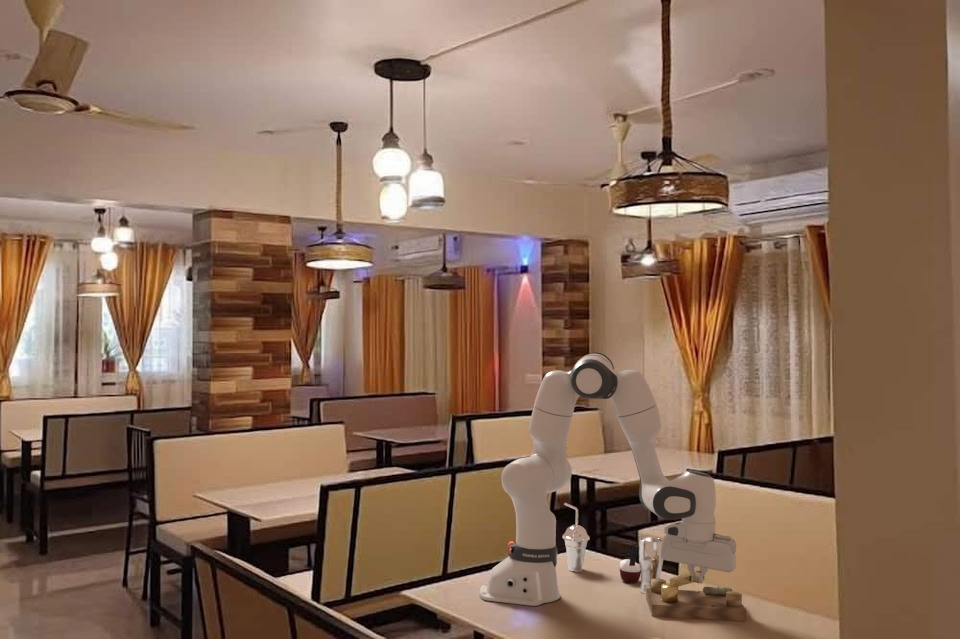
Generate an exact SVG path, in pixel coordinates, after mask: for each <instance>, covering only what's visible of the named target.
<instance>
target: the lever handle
mask: <svg viewBox="0 0 960 639" xmlns="http://www.w3.org/2000/svg"><path fill="white" fill-rule="evenodd" d="M701 572H702V571H700V570H696V571H695V573H696V575H700V574H701ZM704 580H705V575H704V576H703V581H704ZM692 583H694V582H692V581H691V574H690V572H689V573H686V574H682V575H679V576H675V577H671V578H669V583H667V582H666V584H662V585H661V600H663V601H666V602H677V601H678V590H679V587H682V586H685V585H689V584H692Z"/></svg>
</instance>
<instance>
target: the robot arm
mask: <svg viewBox="0 0 960 639" xmlns="http://www.w3.org/2000/svg"><path fill="white" fill-rule="evenodd" d="M579 397H581V398H584V399H589V400H610V401H611V403H612V406H613V409H614V411H615V414H616V417H617V420H618V423H619V425H620V427H621V429H622V432H623V434H624V436H625V438H626V440H627V441H628V445H629V446H630V448H631V452H632V454H633V458H634V462H635V465H636V469H637V472H638V476H639V490H638V497H639V501H640V503H641V505H642V506H643V507H644V508H645V509H646V510H648V511H649V512H651V513H653V514H654V515H656V516H657V517H659V518H661V519H663V520H666V521H676V520H680V519H681V522H680V521H679V522H675V523H671V524H669V525H667V526H665V527H664V530H663V533H664V534H665V535H664V536H663V537H662V538H661V539H662V544H661V557H662V559H663V561H667V562H673V563H679V564H683V565H687V570H688V572H689V573H690V574H691V581H692V582H693V583H697V584H700V585H701V584H703V583H704V580H703V576H704V577H705V575H706V574H707V572H708V570H714V571H719V572H724V573H725V572H726V573H731V572H733V571H734V570H736V568H737V557H736V551H737V542H736V541H735V539H733V538H732V536H730V535H723V534H719V533H718V534H717V533H716V517H715V510H716V506H717V505H716V503H717V502H716V501H717V496H716V495H717V494H716V483H715V480H714V477H712V476H711V475H710V474H708V473H706V472H703V471H699V470H694V469H688V470H686V471H685V472H684V473H682V474H681V475H679V476H677V477H676V478H673V479H671V480H669V479H668V478H667V477H666V475H664V472H663V471H662V467H661V465H660V460H659V458H658V455H657V450H656V446H655V442H656V438H657V437H658V435H659V433H660V432H661V428H662V422H661V416H660V412H659V409H658V405H657V402H656V399H655V397H654V394H653V392H652V390H651V388H650V385H649V384H648V382H647V380H646V378H645V377H644V375H643V374H642V373H641V372H640V371H638V370H635V369H625V370H622V371H618V370H615V367H614V364H613V361H612V360H611V359H610V358H609V357H608V356H607V355H606V354H603V353H601V352H590V353H587V354H585V355H584V356H582V357H581V358H579V359H578V360H577V362H576V363H575V364H573V366H572V367H571V368H570V370H569V371H564V370H560V369H559V370H551V371H549V372H547V373H546V374H545V375H544V376H543V379H542V381H541V383H540V386H539V388H538V390H537V393H536V397H535V400H534V403H533V408H532V412H531V417H530V420H529V424H528V428H527V431H528V435H529V437H530V439H531V440H532V452H531V455H530V456H526V457H522V458H521V457H519V458H517V459H515V460H513V461H511V462H510V463H508V464H506V466H504V468H503V470H502V472H501V475H500V476H501V477H500V478H501V480H500V481H501V486H502V488H503V490H504V492H505V493H506V494H508V496H509V497H510V499H511V501H512V504H513V507H514V513H515V522H516V523H515V525H516V526H515V528H516V530H515V531H516V532H515V533H516V534H515V542H514V541H511V540H510V541H509V542H508V544H507V549H508V556H507V557H506V558H504V559H503V560H502V561H500V562H499V563H498V564H496V565H495V566H494V567H492V568H491V570H490V573H489V576H488V579H487V582H485V583H484V584H482V585H481V586H480V588H479V597H480V598H481V599H482V600H484V601H489V602H491V601H492V602H497V603H507V604H514V605H523V606H524V605H525V606H533V607H536V606H541V604H546V603H552V602H555V601H557V600H559V599H560V598H561V593H560V590H559V586H558V579H557V578H558V577H557V564H558V546H557V544H556V537H557V534H556V532H557V531H556V530H557V527H556V526H557V520H556V519H557V518H556V516H555V514H554V513H553V512H552V511H551V510H550V507H549V503H548V499H547V496H548V494H551V493H554V492H557V491H559V490H560V489H562V488H564V487H565V486H566V485H567V484H568V483H569V482H570V481H571V479H572V473H573V471H572V467H571V466H572V465H571V463H570V461H569V460H568V457H567V456H568V455H567V445H568V444H567V443H568V442H567V441H568V437H569V436H568V435H569V432H570V429H571V428H570V427H571V423H572V419H573V416H574V411H575V406H576V404H577V401H578V399H579ZM696 567H697V568H698V567H699V571H702V572H701V574H700V575H696V573H695V572H696V571H695V568H696Z"/></svg>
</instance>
